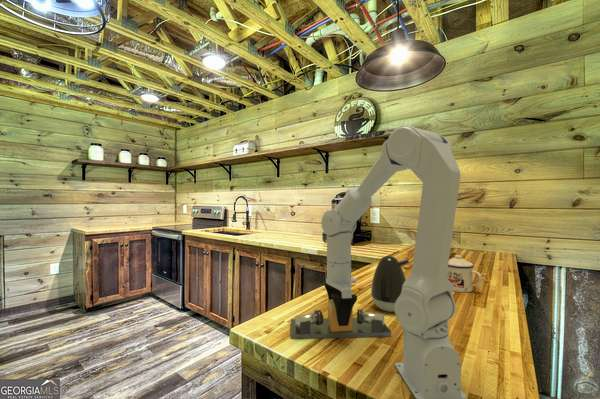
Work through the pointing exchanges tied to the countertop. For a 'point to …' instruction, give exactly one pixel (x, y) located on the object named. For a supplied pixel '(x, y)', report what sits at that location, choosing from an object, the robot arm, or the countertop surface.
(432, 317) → the robot arm
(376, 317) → the shaft
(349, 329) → the block
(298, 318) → the shaft
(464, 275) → the teacup with lid
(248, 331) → the countertop surface
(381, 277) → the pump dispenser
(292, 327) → the base plate
